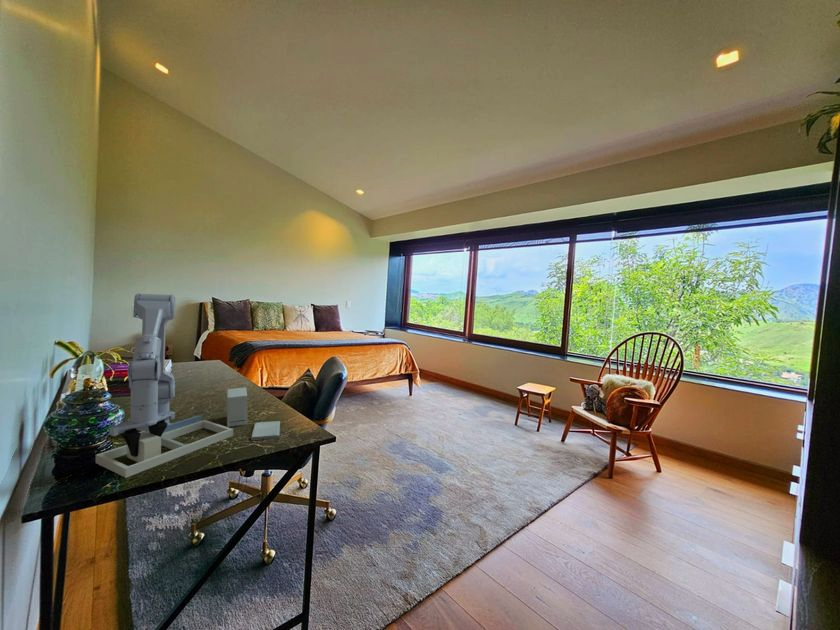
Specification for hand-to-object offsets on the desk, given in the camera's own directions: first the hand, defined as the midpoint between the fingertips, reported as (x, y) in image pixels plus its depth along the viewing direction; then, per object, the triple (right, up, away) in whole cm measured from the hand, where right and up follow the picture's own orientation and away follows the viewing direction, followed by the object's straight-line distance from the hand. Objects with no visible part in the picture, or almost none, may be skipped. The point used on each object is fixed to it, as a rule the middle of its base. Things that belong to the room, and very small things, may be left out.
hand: (144, 452), depth 94 cm
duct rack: (+3, -1, +6) cm, 7 cm away
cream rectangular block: (0, -2, 0) cm, 2 cm away
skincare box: (+10, -1, +29) cm, 31 cm away
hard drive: (+24, -2, +22) cm, 32 cm away
